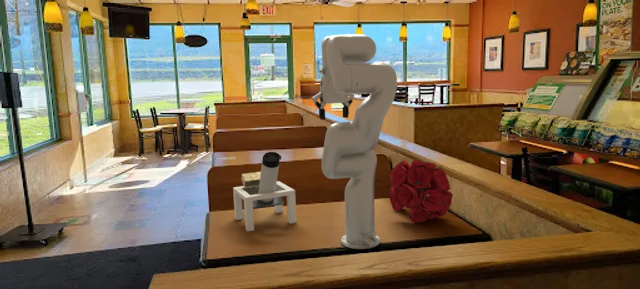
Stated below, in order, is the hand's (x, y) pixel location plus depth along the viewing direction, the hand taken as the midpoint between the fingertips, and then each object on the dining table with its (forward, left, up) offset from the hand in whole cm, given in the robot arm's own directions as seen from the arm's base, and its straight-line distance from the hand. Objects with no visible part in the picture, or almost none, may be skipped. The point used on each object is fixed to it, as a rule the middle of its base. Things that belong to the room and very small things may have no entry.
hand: (334, 118), depth 167 cm
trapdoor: (+13, +26, -28) cm, 40 cm away
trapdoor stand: (+10, +26, -38) cm, 47 cm away
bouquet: (-17, -25, -38) cm, 49 cm away
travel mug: (+9, +25, -29) cm, 40 cm away
